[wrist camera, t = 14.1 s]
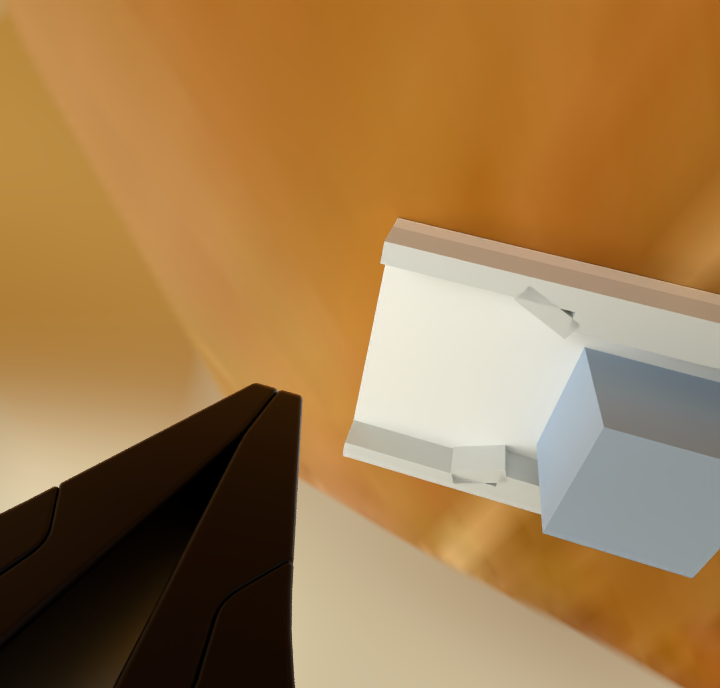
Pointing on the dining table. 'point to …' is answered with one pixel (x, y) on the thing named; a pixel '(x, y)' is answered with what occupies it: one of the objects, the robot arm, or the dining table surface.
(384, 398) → the board
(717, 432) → the block
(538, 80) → the dining table surface
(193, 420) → the robot arm
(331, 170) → the dining table surface
